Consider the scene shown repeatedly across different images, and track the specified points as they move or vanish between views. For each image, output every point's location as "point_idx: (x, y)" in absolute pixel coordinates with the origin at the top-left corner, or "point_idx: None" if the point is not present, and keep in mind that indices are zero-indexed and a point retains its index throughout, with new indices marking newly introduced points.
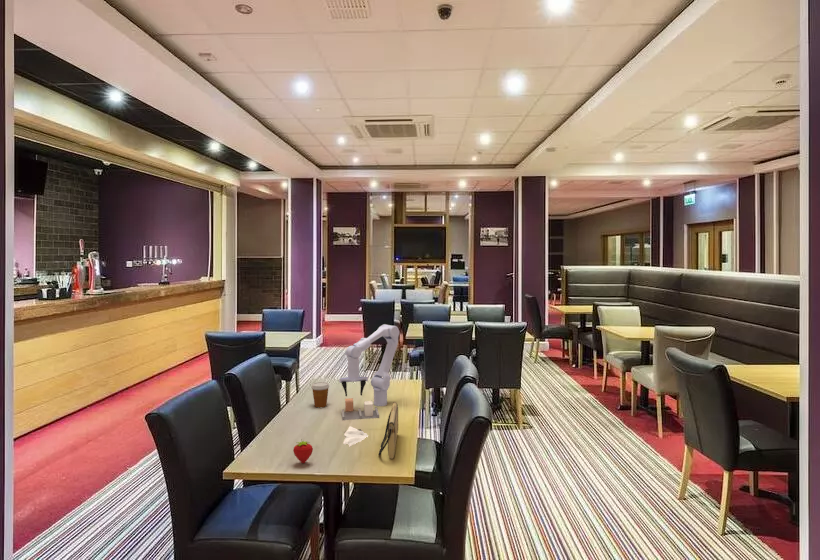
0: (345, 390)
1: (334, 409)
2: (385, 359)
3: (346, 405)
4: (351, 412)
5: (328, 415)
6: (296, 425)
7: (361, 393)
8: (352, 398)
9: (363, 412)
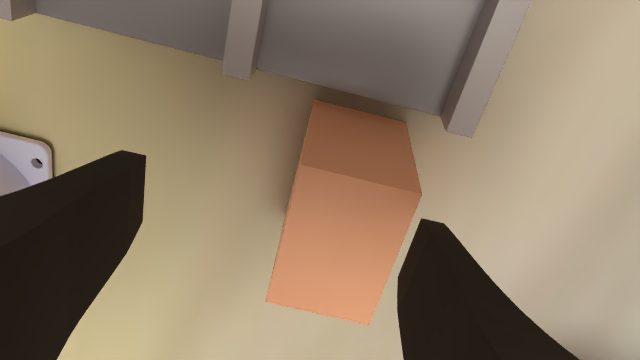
0: (490, 297)
1: None
2: None
3: (403, 164)
4: (354, 61)
5: (616, 140)
6: None
7: (109, 164)
8: (272, 295)
9: None
